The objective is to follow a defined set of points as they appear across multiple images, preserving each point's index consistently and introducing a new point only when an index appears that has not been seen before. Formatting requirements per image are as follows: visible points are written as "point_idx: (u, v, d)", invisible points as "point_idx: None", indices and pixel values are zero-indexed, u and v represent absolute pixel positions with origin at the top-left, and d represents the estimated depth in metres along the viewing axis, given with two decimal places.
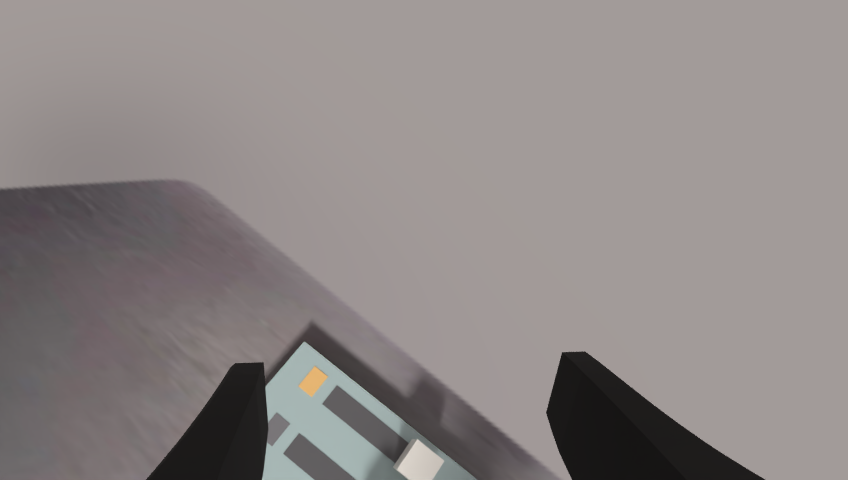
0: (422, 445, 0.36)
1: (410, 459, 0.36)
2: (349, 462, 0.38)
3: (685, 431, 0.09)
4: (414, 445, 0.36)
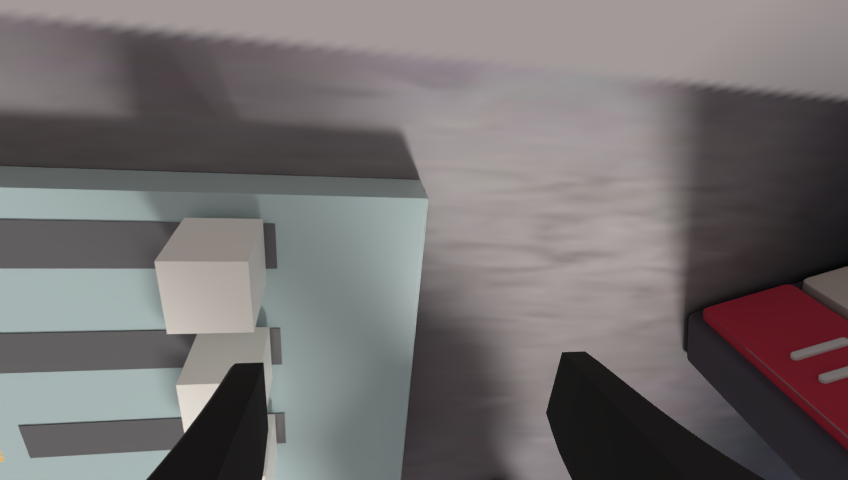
0: (176, 265, 0.14)
1: (175, 302, 0.14)
2: (117, 316, 0.18)
3: (685, 431, 0.09)
4: (160, 275, 0.14)
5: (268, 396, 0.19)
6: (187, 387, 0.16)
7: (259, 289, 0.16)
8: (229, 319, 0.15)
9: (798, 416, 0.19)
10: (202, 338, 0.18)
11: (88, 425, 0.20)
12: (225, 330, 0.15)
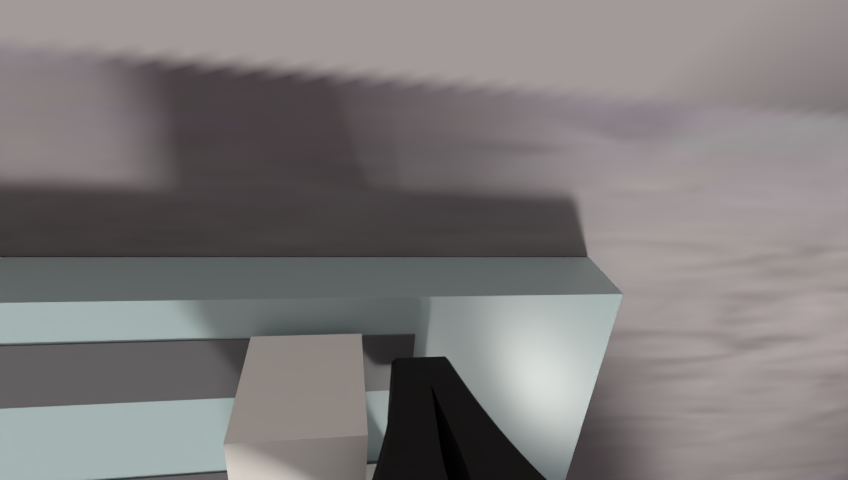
0: (257, 447, 0.09)
1: None
2: (191, 456, 0.13)
3: (506, 443, 0.09)
4: (230, 461, 0.09)
5: None
6: None
7: None
8: None
9: None
10: None
11: None
12: None
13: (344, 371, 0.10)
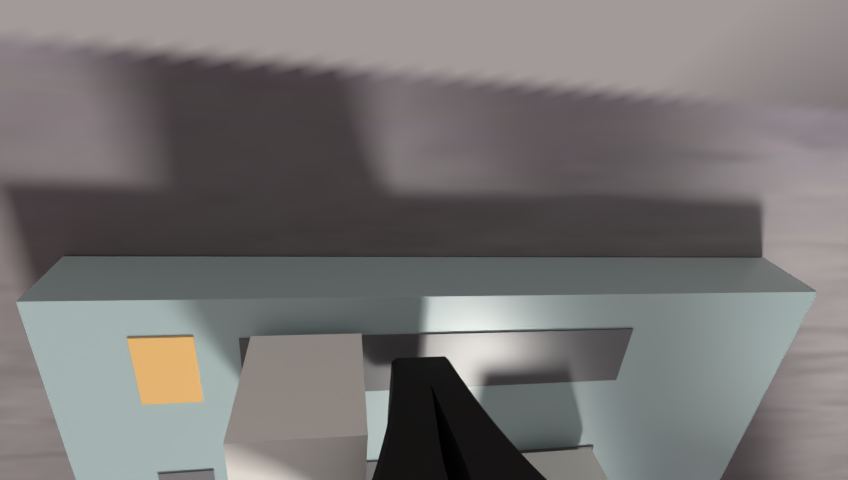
0: (257, 447, 0.09)
1: None
2: None
3: (506, 443, 0.09)
4: (230, 461, 0.09)
5: None
6: None
7: None
8: None
9: None
10: None
11: None
12: None
13: (344, 371, 0.10)
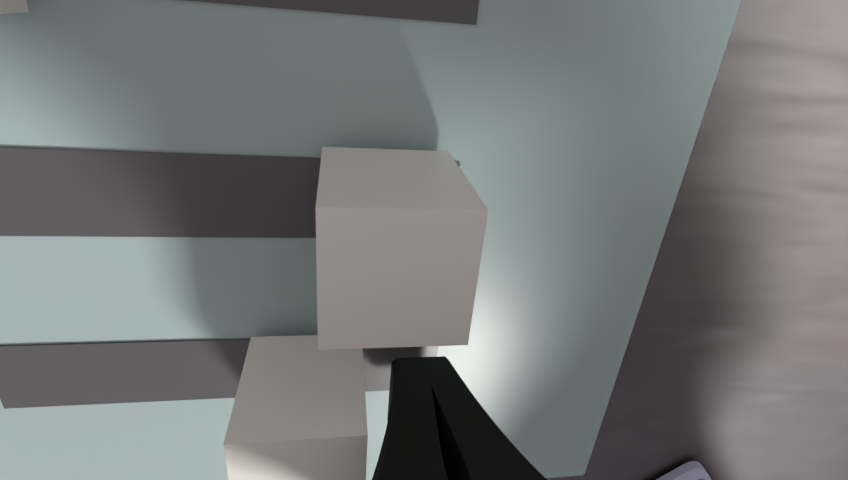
0: None
1: None
2: (165, 118, 0.09)
3: (506, 443, 0.09)
4: None
5: None
6: (340, 214, 0.07)
7: None
8: None
9: None
10: (334, 156, 0.09)
11: (106, 349, 0.11)
12: None
13: None
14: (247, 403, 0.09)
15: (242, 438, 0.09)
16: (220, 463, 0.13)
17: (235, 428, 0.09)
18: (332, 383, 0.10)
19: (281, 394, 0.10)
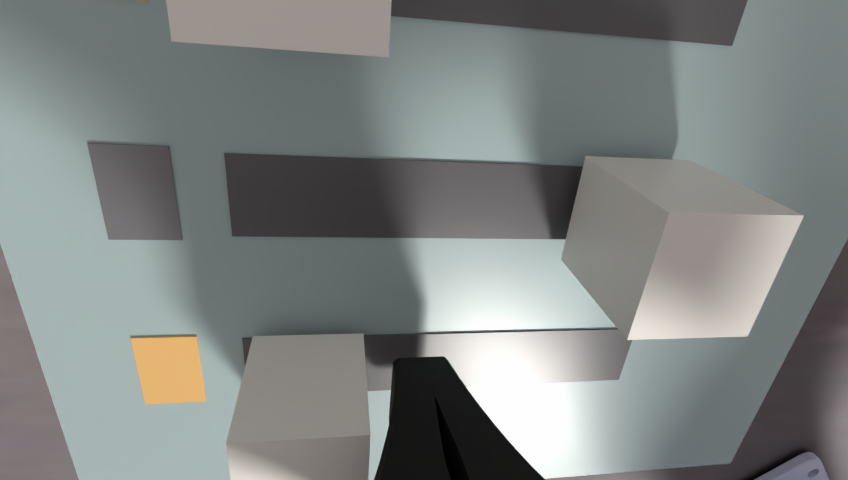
0: None
1: None
2: (450, 130, 0.10)
3: (504, 443, 0.09)
4: None
5: None
6: (687, 219, 0.08)
7: None
8: (333, 7, 0.06)
9: None
10: (610, 165, 0.10)
11: None
12: (316, 51, 0.06)
13: None
14: (249, 403, 0.09)
15: (245, 438, 0.09)
16: None
17: (238, 428, 0.09)
18: (335, 383, 0.10)
19: (282, 394, 0.10)
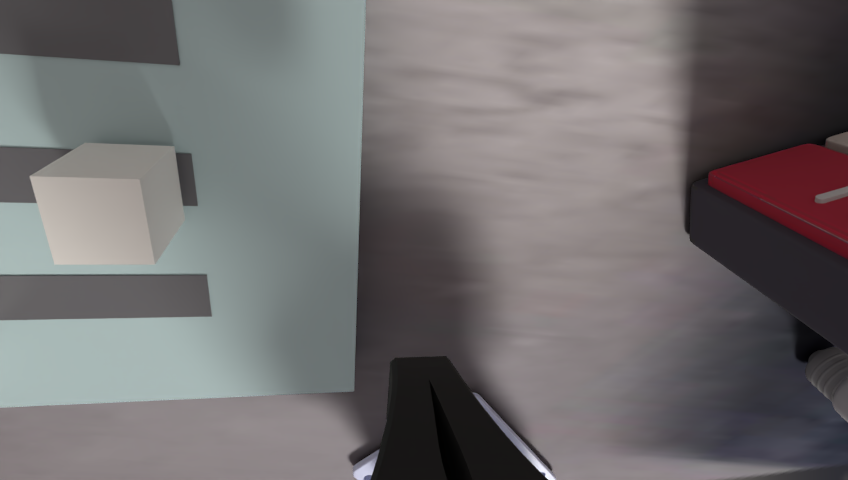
0: None
1: None
2: None
3: (507, 443, 0.09)
4: None
5: (173, 232, 0.15)
6: (45, 180, 0.12)
7: None
8: None
9: (827, 257, 0.15)
10: (83, 149, 0.14)
11: None
12: None
13: None
14: None
15: None
16: (60, 370, 0.19)
17: None
18: None
19: None
